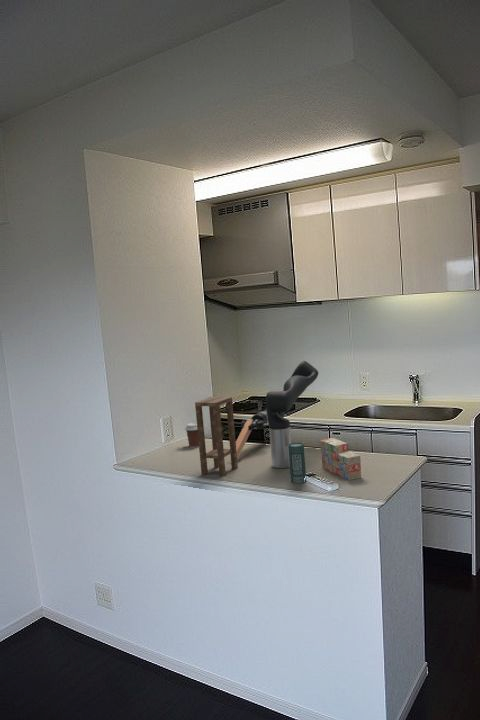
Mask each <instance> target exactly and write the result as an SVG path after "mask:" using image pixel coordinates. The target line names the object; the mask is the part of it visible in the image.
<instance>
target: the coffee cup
mask: <svg viewBox="0 0 480 720" xmlns="http://www.w3.org/2000/svg"><path fill="white" fill-rule="evenodd" d="M184 430H185V431H186V434H187V435H186V437H187V440H188V447H189V448H190V449H199V441H198V430H197V422H190V423H187V424H186V426H185V427H184Z"/></svg>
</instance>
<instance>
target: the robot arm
mask: <svg viewBox="0 0 480 720" xmlns="http://www.w3.org/2000/svg"><path fill="white" fill-rule="evenodd" d="M318 376H319V371H318V369H317V368H315V367H314V366H313V365H312V364H311V363H309V362H308V361H306V360H302V361H301V362H300V363H299V364H297V366H296V368H295V369H294V371H293V372H292V374H291V376H290V377H289V378H288V379H287V380H286V381H285V382H284V383H283V387H282V388H283V390H278V391H277V390H275V391H273V390H271V391H270V390H269V391H268V392H267V393H266V396H265V409H264V410H262V411H260V412H258V413H256V414H254V415H252V417H251V418H250V420H253V424H251V425H249V426H248V428H249V430H251V431H252V430H255V429H256V430H261V429H263V428H265V427H267V426H268V430H269V432H268V433H269V444H270V456H271V467H272V468H275V469H287V468H289V469H290V461H289V448H288V445H289V444H291V443H292V435H291V421H290V420H289V419H288V418H285V414H286V413H288V412H289V411H291V409H292V407H293V406H294V404H295V402H296V401H297V399H299V397H300V396H301V395H302V394H303V393H304V392H305V391H306V389H307V388H308V387H310V385H312V384H313V383H314V382H315V381H316V380H317V378H318ZM246 421H247V420H242V421H241V427H240V428H241V430H242V429H243V427H244V425H245V423H246Z"/></svg>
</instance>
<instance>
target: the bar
mask: <svg viewBox="0 0 480 720" xmlns="http://www.w3.org/2000/svg"><path fill="white" fill-rule="evenodd" d="M245 421H246V423H245V425H244V427H243V429H242V428H241V431H240V432H239V435H238V437H237V439H236V452H237V457H240V454H241V452H242V450H243V448H244V446H245V444H246V442H247V440H248V438H249V436H250V435H251V432H252V430H249V428H248V426H249V425H251V424H253V420H251V419H246V420H245Z"/></svg>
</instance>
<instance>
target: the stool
mask: <svg viewBox="0 0 480 720" xmlns="http://www.w3.org/2000/svg"><path fill="white" fill-rule="evenodd" d="M194 404H195V405H194V407H195V416H196V423H197V430H198V441H199V447H198V449H199V450H198V451H199V461H200V462H199V463H200V469H201V470H200V471H201V476H202V475H203V476H206V474H207V475H208V473H209V472H208V460H207V459H213V467H214V468H216V469H218V475H219V477H222V476H224V477H225V476H227V474H226V473H227V471H226V462H225V457H227V456H229V455H230V465H231V469H234V470H237V469H238V468H239V467H238V456H237V452H236V441H237V439H236V431H235V428H236V427H235V420H234V418H235V417H234V416H235V415H234V407H233V406H234V405H233V396H209V397H206V398H204V399H201V400H199V401H196V402H194ZM224 404H225V405H226V416H227V428H228V429H227V431H228V439H229V440H228V441H229V448H224V440H223V428H222V427H223V426H222V418H221V417H222V416H221V415H222V414H221V405H224ZM203 407H208V409H209V410H208V412H209V421H210V422H209V424H210V433H211V434H210V435H211V443H212V450H210V451H208V452H207V450H206V448H207V447H206V436H205V427H204V426H205V425H204V417H203Z"/></svg>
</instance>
